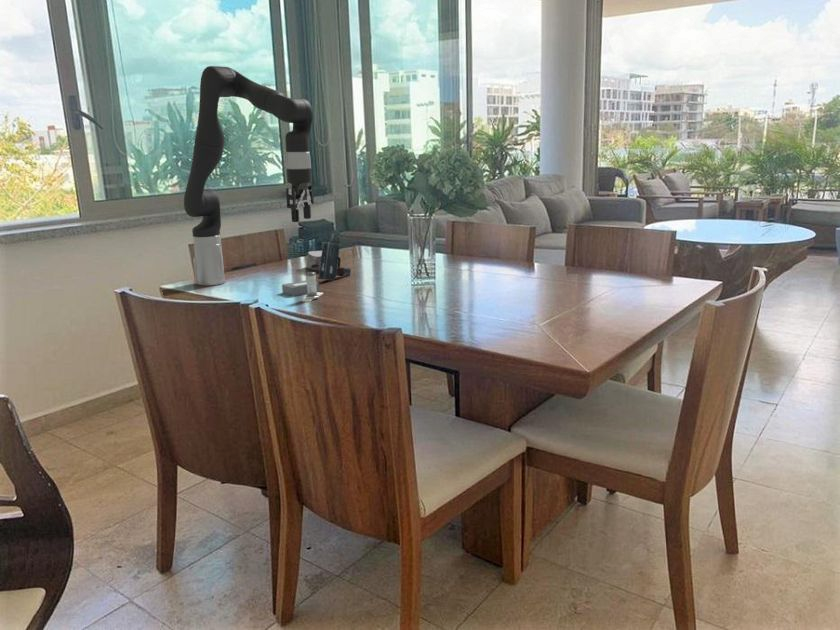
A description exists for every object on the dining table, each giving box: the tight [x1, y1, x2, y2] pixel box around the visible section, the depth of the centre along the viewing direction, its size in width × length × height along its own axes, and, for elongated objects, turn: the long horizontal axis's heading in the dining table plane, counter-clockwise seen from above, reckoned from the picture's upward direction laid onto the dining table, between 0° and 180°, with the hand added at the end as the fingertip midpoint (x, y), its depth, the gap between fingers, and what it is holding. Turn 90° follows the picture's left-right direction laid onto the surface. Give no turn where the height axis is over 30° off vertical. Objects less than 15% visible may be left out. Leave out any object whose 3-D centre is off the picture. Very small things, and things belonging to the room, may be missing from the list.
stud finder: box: [281, 280, 321, 297], centre depth 215 cm, size 7×10×4 cm
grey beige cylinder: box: [305, 271, 320, 300], centre depth 205 cm, size 4×4×8 cm
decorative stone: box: [306, 250, 322, 273], centre depth 254 cm, size 15×7×10 cm
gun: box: [317, 232, 352, 281], centre depth 234 cm, size 3×17×15 cm
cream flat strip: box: [301, 291, 324, 303], centre depth 207 cm, size 2×11×1 cm, turn 165°
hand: (301, 220), depth 202 cm, fingers open, 8 cm apart
